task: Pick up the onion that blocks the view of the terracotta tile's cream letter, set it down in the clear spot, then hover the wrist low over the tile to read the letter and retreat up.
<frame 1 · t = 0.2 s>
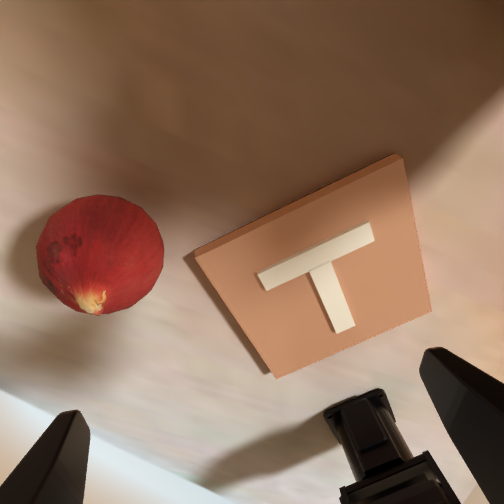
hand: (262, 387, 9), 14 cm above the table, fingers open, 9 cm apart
letter tile: (323, 280, 25), on the table
onion: (117, 220, 20), on the table
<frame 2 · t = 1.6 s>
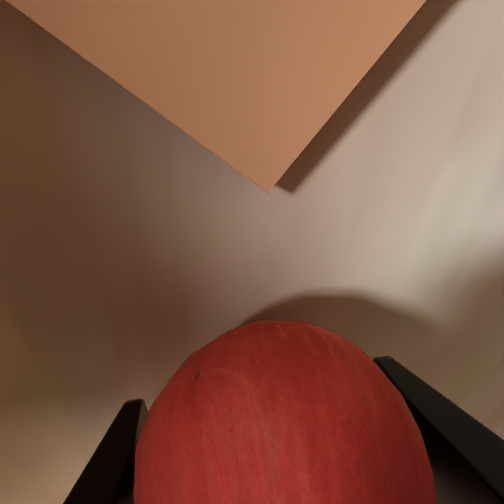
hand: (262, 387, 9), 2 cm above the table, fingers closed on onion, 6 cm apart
onion: (250, 331, 10), on the table, touching gripper
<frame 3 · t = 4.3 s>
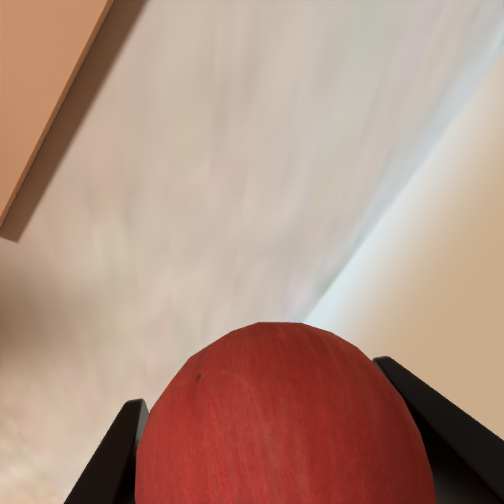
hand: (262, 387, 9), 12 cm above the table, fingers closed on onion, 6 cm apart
onion: (250, 332, 10), point 10 cm above the table, touching gripper
when the fingers open (3 cm above the table, at t = 6.8 s): onion drops 1 cm, on the table.
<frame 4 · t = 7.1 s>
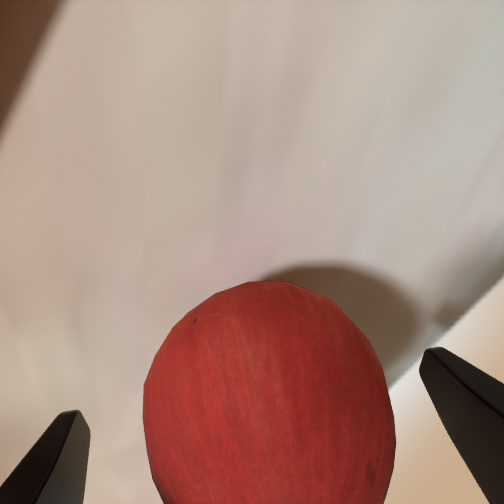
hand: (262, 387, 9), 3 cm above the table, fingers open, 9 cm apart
onion: (243, 300, 12), on the table
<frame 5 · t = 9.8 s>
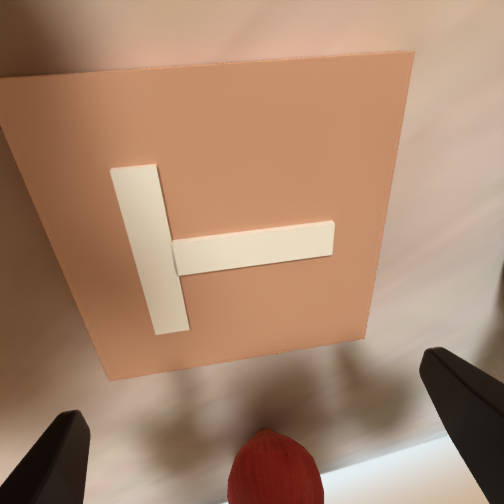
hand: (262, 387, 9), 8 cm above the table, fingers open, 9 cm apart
letter tile: (229, 238, 15), on the table
onion: (262, 428, 24), on the table
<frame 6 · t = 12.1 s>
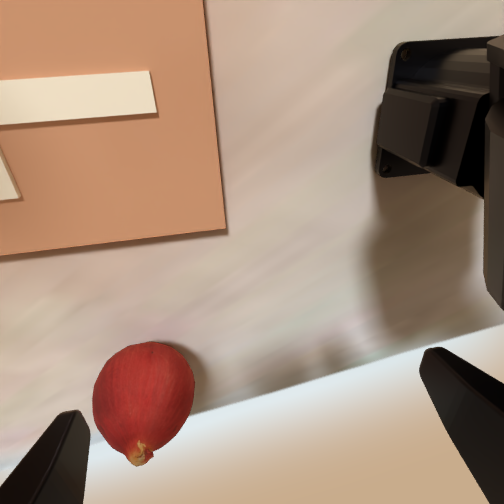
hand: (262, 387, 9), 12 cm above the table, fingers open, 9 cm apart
letter tile: (51, 96, 15), on the table
onion: (151, 344, 24), on the table
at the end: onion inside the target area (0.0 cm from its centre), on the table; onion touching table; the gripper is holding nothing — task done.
